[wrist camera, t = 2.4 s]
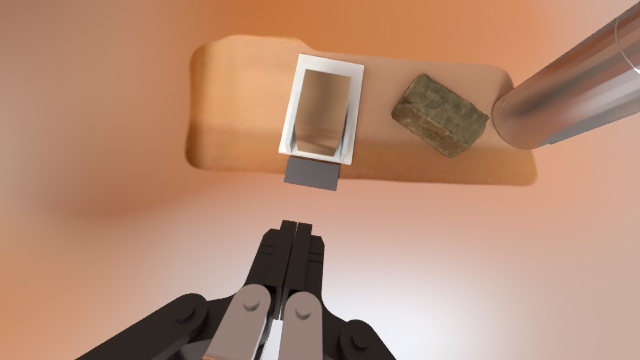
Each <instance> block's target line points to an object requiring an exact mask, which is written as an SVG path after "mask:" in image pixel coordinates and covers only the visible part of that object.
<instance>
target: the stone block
mask: <svg viewBox="0 0 640 360" xmlns="http://www.w3.org/2000/svg"><path fill="white" fill-rule="evenodd" d="M391 114H392V118H393V119H395V120H396V121H397V122H399V123H400V124H402V125H403V126H405V127H406V128H408V129H409V130H410V131H411V132H413V133H415V134H417V135H419V136H420V137H421V138H422V139H423V140H424V141H426V142H428V143H429V144H430V145H432V146H433V147H434V148H435V149H436V150H438V151H439V152H441V153H442V154H444V155H446V156H447V157H449V158H451V157H454V156H456V155H458V154H459V153H460V152H463V151H464V150H466V149H467V148H469V147H470V146H471V145H472V144H473V143H474V142H475V141H476V140H477V139H478V138H479V137H480V136H481V135H482V134H483V132H484V129H485V127H486V122H487V120H488V119H489V117H488V115H486V114H484V113H482V112H481V111H479V110H478V109H476V108H475V106H474V105H473V104H471V103H469V102H467V101H466V100H464V99H463V98H461V97H460V96H458V95H457V94H455V93H454V92H452V91H451V90H449V89H448V88H446V87H445V86H443V85H441V84H439V83H438V82H436V81H434V80H433V79H431V78H430V77H429V76H427V75H425V74H423V75H419V76H418V77H417V78H416V79H415V81H414V82H413V83H412V84H411V85H410V86H409V87H408V89H407V91H406V92H405V94H404V95H403V96H402V98H401V100H400V101H399V102H398V104H397V105H396V106H395V108H394V109H393V111H392V113H391Z"/></svg>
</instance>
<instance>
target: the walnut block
mask: <svg viewBox="0 0 640 360" xmlns="http://www.w3.org/2000/svg"><path fill="white" fill-rule="evenodd" d="M350 80H351V77H349V76H343V75H338V74H332V73H326V72H321V71H315V70H310V69H305V74H304V79H303V84H302V89H301V94H300V98H299V103H298V108H297V113H296V118H295V132H296V141H297V151H302V152H307V153H313V154H319V155H325V156H331V157H334V155H335V152H336V149H337V146H338V144H339V141H340V138H341V135H342V133H343V128H344V121H345V114H346V107H347V100H348V94H349V87H350Z"/></svg>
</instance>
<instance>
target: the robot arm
mask: <svg viewBox="0 0 640 360" xmlns="http://www.w3.org/2000/svg"><path fill="white" fill-rule="evenodd" d="M638 112H640V1H639V2H638V3H637V4H635V5H634V6H632V7H631V8H630V9H628V10H626V11H625V12H624V13H622V14H621V15H620V16H618V17H617V18H615V19H614V20H613V21H611V22H609V23H608V24H607V25H605V26H604V27H602V28H601V29H599V30H598V31H596V32H595V33H594V34H592V35H591V36H589V37H588V38H586V39H585V40H584V41H582V42H581V43H579V44H578V45H576V46H575V47H573V48H572V49H571V50H569V51H568V52H566V53H565V54H563V55H562V56H561V57H559V58H558V59H556V60H555V61H553V62H552V63H550V64H549V65H548V66H546V67H545V68H543V69H542V70H540V71H539V72H537V73H536V74H535V75H533V76H532V77H530V78H529V79H527V80H526V81H524V82H523V83H522V84H520V85H519V86H518V87H516V88H514V89H513V90H512V91H510V92H509V93H507V94H506V95H504V96H503V97H502V98H500V99H499V100H498V101H497V102H496V104H495V105H494V108H493V111H492V118H493V123H494V126H495V128H496V130H497V132H498V133H499V134H500V135H501V137H502V138H503V139H504V140H506V141H507V142H508V143H510V144H512V145H513V146H516V147H518V148H522V149H535V148H538V147H541V146H543V145H546V144H554V143H556V142H559V141H562V140H564V139H567V138H570V137H573V136H576V135H578V134H581V133H584V132H587V131H589V130H592V129H595V128H598V127H600V126H603V125H606V124H609V123H611V122H614V121H616V120H620V119H622V118H625V117H628V116H631V115H633V114H636V113H638ZM296 228H297V231H296ZM311 231H312V224H306V223H300V222H299V223H298V226H297V222H294V221H288V220H283V221H282V225H281V227H280V230H277V229H270V230H269V231H268V232H266V233H265V234H264V236H263V238H262V241H261V243H260V246H259V248H258V251H257V254H256V256H255V259H254V261H253V264H252V266H251V269H250V271H249V274H248V276H247V279H246V282H245V284H244V285H243V287H242V288H241V289H240V290H239V291H238V292H237V293H235V294H234V295H232V296H229V297H226V298H222V299H216V300H211V301H206V299H205V298H204V297H203V296H202V295H199V294H194V293H190V294H185V295H182V296H180V297H178V298H176V299H175V300H173V301H171V302H170V303H168V304H166V305H165V306H163V307H161V308H160V309H158V310H156V311H155V312H153V313H152V314H150V315H148V316H147V317H145V318H143V319H142V320H140V321H139V322H137V323H135V324H133V325H132V326H130V327H128V328H127V329H125V330H123V331H122V332H120V333H119V334H117V335H115V336H114V337H112V338H110V339H108V340H107V341H105V342H104V343H102V344H100V345H99V346H97V347H95V348H94V349H92V350H90V351H89V352H87V353H85V354H84V355H82V356H80V357H79V358H77V359H75V360H262V357H263V353H264V350H265V347H266V344H267V340H268V337H269V334H270V330H271V326H272V322H273V319H276V320H278V319H279V314H280V310H281V316H280V320H283V327H282V335H281V342H280V350H279V358H278V360H396V359H395V357H394V356H393V355H392V353H391V352H390V351H389V350H388V348H387V347H386V345H385V344H384V343H383V341H382V340H381V339H380V338H379V336H378V335H377V333H376V332H375V331H374V330H373V328H372V327H371V326H370V325H369V324H367V323H366V322H364V321H361V320H356V319H355V320H350V321H348V322H346V321H344V320H342V319H340V318H338V317H337V316H335V315H333V314H332V313H331V312H329V311H328V310H327V308H326V307H325V305H324V304H323V301H322V296H321V291H322V276H323V261H324V246H325V245H324V243H323V240H322V238H321V236H315V235H311ZM281 305H282V308H281Z"/></svg>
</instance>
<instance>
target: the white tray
mask: <svg viewBox="0 0 640 360" xmlns="http://www.w3.org/2000/svg"><path fill="white" fill-rule="evenodd" d="M305 69H310V70H315V71H321V72H326V73H332V74H338V75H343V76H349V77H351V80H350V87H349V94H348V100H347V107H346V114H345V121H344V128H343V133H342V135H341V138H340V141H339V144H338V146H337V149H336V152H335V155H334V157H331V156H325V155H319V154H313V153H307V152H302V151H297V141H296V132H295V118H296V113H297V108H298V103H299V98H300V94H301V89H302V84H303V79H304V74H305ZM363 71H364V65H360V64H355V63H349V62H344V61H338V60H333V59H327V58H322V57H316V56H310V55H305V54H299V59H298V64H297V68H296V73H295V78H294V82H293V87H292V91H291V96H290V101H289V105H288V110H287V114H286V119H285V124H284V128H283V133H282V138H281V142H280V147H279V153H284V154H290V155H296V156H302V157H307V158H313V159H319V160H325V161H331V162H337V163H343V164H348V165H351V162H352V154H353V147H354V139H355V131H356V124H357V116H358V109H359V101H360V93H361V86H362V78H363ZM339 168H340V165H335V164H329V163H323V162H317V161H311V160H305V159H300V158H294V157H289V159H288V164H287V168H286V173H285V178H284V182H285V183H291V184H298V185H303V186H309V187H315V188H321V189H327V190H333V191H336V187H337V181H338V174H339Z"/></svg>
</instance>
